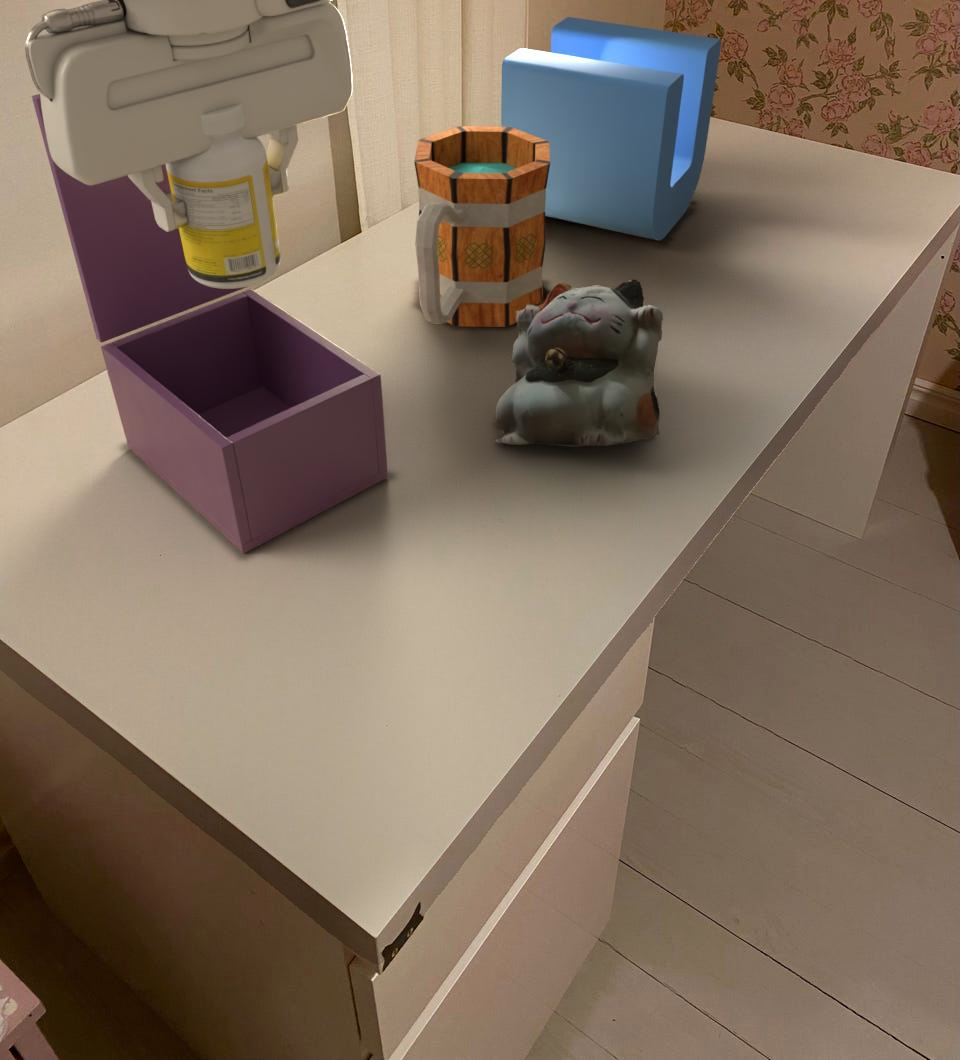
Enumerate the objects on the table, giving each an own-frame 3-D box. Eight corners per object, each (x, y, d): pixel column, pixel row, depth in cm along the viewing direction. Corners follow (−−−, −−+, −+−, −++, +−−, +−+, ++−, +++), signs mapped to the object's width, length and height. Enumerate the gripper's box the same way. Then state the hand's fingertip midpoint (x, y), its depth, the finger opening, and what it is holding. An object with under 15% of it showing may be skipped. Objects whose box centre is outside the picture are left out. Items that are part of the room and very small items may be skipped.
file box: (388, 477, 85) (381, 374, 78) (243, 554, 78) (221, 448, 72) (266, 386, 95) (250, 288, 88) (128, 447, 88) (100, 346, 81)
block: (561, 168, 132) (570, 15, 120) (698, 195, 126) (722, 37, 114) (499, 224, 120) (502, 60, 108) (647, 257, 114) (667, 87, 102)
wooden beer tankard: (450, 255, 114) (448, 116, 104) (566, 279, 110) (575, 137, 100) (364, 341, 101) (352, 191, 91) (492, 372, 97) (494, 219, 87)
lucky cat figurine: (463, 441, 88) (468, 272, 85) (546, 431, 98) (554, 278, 95) (613, 463, 79) (625, 274, 76) (690, 449, 88) (703, 281, 85)
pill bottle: (248, 241, 77) (222, 77, 69) (300, 271, 73) (279, 102, 65) (170, 269, 73) (134, 100, 66) (220, 303, 70) (188, 128, 62)
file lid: (219, 54, 75) (181, 35, 78) (36, 99, 68) (2, 77, 71) (252, 285, 88) (219, 262, 91) (101, 343, 81) (69, 316, 84)
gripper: (41, 31, 54) (104, 274, 63) (357, -36, 64) (372, 182, 74) (-9, 5, 58) (58, 239, 67) (299, -54, 68) (320, 156, 77)
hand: (225, 208), depth 70 cm, fingers closed on pill bottle, 6 cm apart
